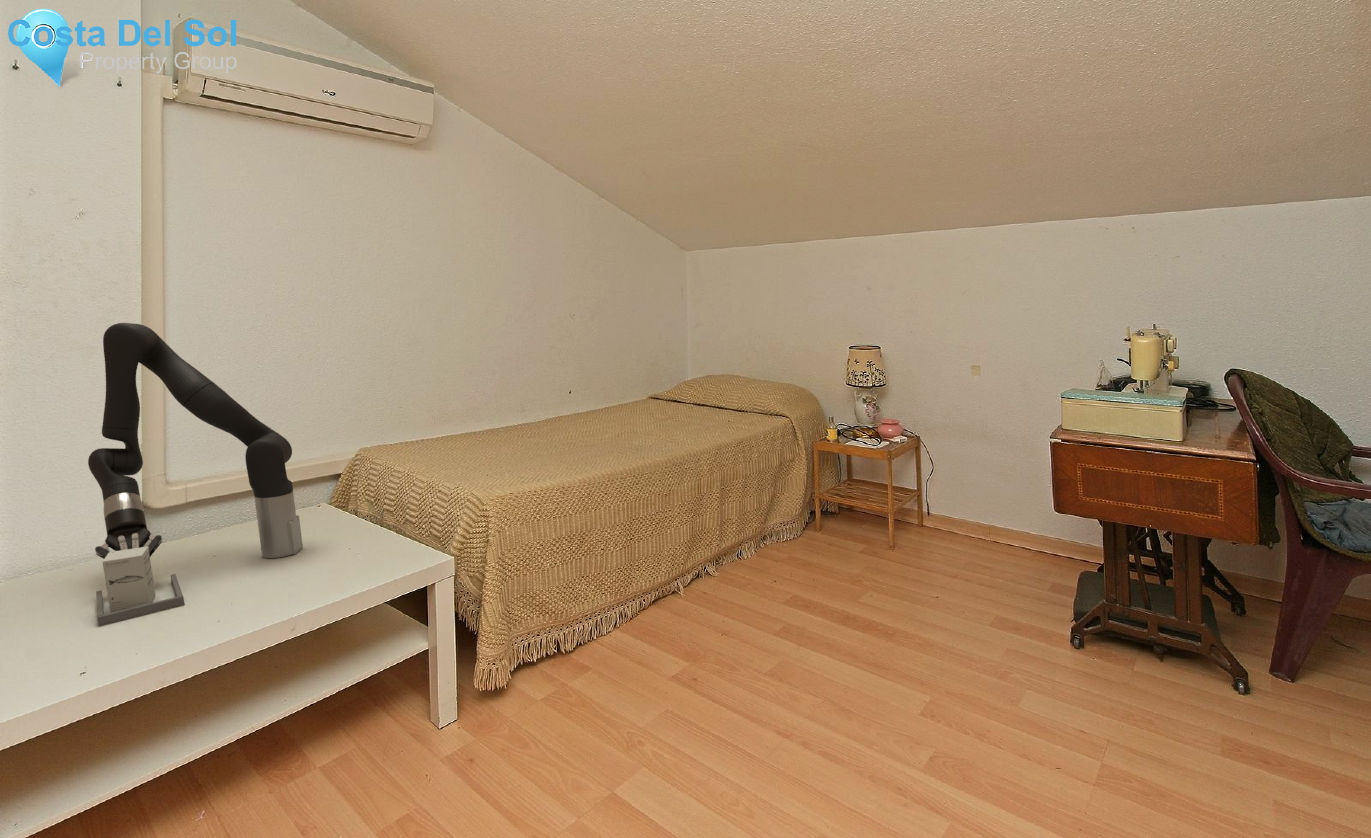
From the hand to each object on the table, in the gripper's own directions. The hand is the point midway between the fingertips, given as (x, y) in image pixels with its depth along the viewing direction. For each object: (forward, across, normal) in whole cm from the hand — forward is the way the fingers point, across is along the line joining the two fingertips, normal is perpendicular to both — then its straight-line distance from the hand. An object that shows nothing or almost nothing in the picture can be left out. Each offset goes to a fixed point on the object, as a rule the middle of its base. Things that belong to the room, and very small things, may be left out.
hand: (134, 576), depth 156 cm
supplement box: (+7, -1, +1) cm, 7 cm away
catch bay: (+6, 0, +1) cm, 7 cm away
